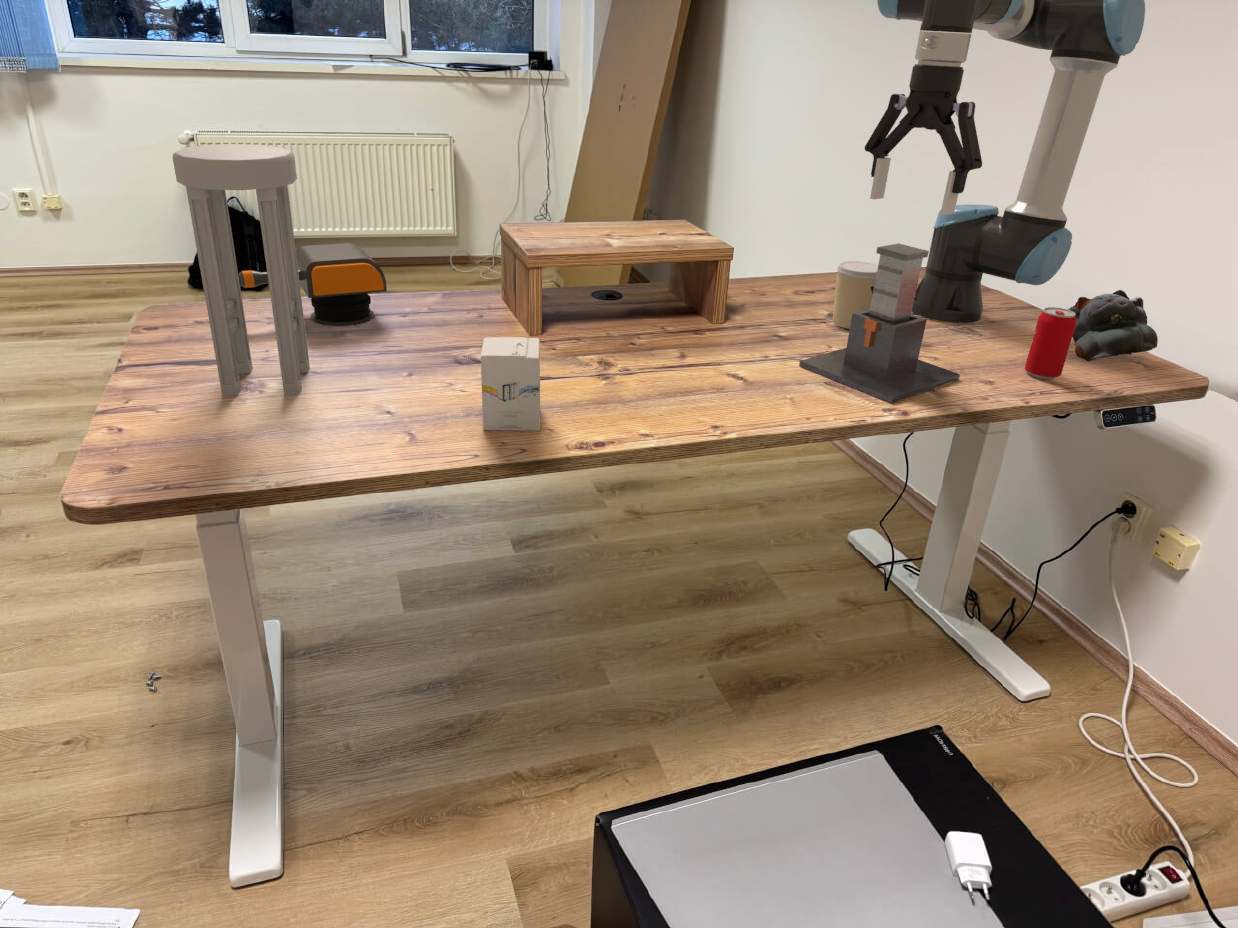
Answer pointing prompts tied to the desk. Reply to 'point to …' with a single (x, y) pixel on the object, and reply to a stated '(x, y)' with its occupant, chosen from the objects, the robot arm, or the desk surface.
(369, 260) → the sander
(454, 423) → the desk surface
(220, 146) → the stool
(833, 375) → the stand base
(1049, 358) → the beverage can
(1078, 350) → the lucky cat figurine
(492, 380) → the ink box
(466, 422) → the desk surface
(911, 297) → the column
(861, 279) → the coffee cup
